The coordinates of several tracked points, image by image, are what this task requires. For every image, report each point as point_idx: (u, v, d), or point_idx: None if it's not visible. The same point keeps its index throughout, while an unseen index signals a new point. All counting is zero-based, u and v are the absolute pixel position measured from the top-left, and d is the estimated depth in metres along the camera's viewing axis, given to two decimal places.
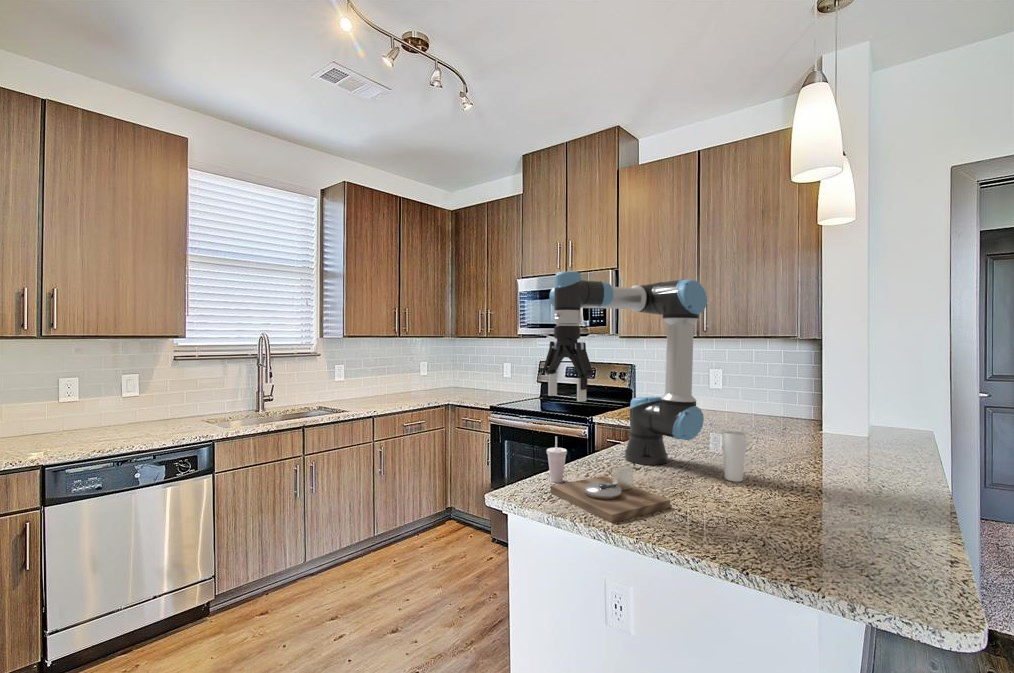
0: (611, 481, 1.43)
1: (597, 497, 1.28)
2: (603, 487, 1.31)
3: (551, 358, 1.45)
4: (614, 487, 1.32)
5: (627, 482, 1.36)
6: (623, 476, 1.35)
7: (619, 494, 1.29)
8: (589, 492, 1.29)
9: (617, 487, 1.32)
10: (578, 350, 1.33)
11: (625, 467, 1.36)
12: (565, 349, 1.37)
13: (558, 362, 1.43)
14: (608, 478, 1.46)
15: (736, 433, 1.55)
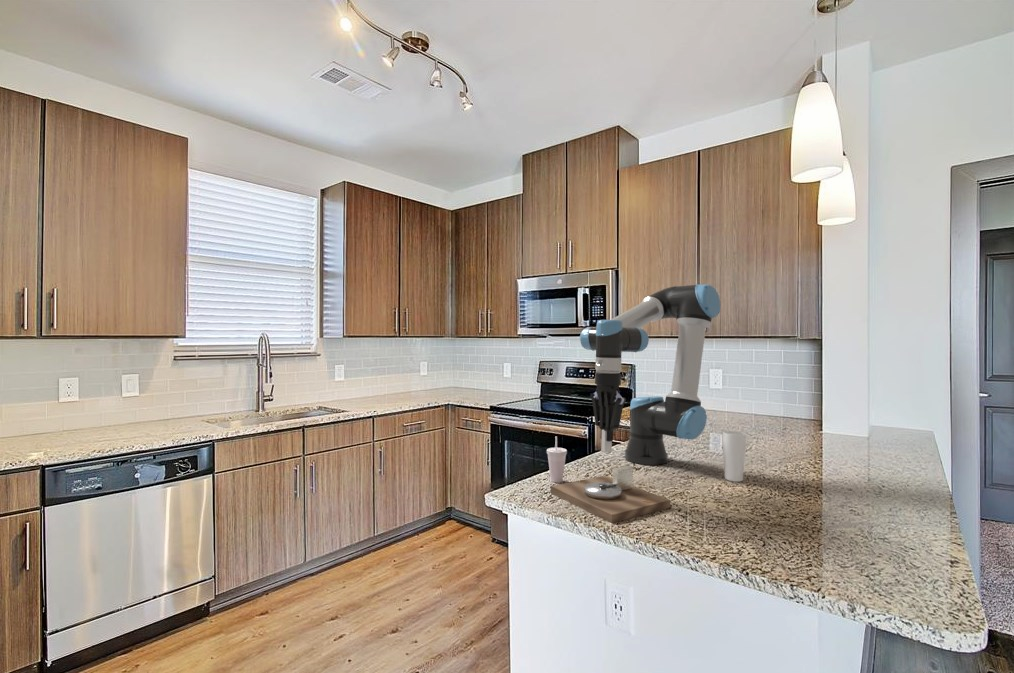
0: (611, 481, 1.43)
1: (597, 497, 1.28)
2: (603, 487, 1.31)
3: (598, 409, 1.45)
4: (614, 487, 1.32)
5: (627, 482, 1.36)
6: (623, 476, 1.35)
7: (619, 494, 1.29)
8: (589, 492, 1.29)
9: (617, 487, 1.32)
10: (616, 405, 1.37)
11: (625, 467, 1.36)
12: (605, 396, 1.40)
13: (606, 411, 1.43)
14: (608, 478, 1.46)
15: (736, 433, 1.55)
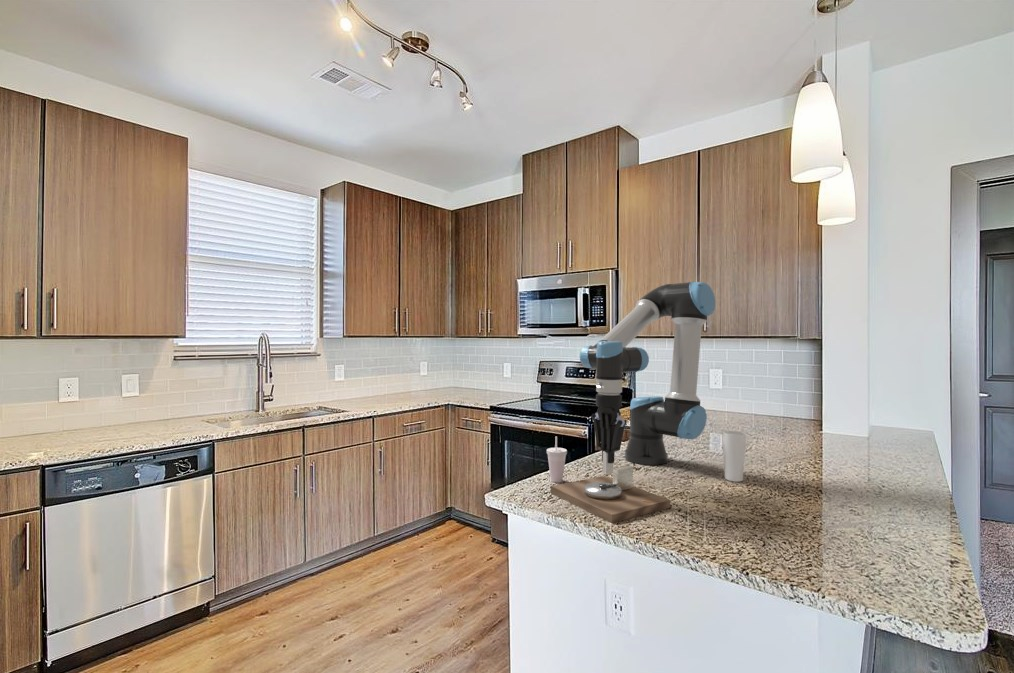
0: (611, 481, 1.43)
1: (597, 497, 1.28)
2: (603, 487, 1.31)
3: (599, 430, 1.44)
4: (614, 487, 1.32)
5: (627, 482, 1.36)
6: (623, 476, 1.35)
7: (619, 494, 1.29)
8: (589, 492, 1.29)
9: (617, 487, 1.32)
10: (617, 427, 1.37)
11: (625, 467, 1.36)
12: (606, 418, 1.39)
13: (607, 433, 1.42)
14: (608, 478, 1.46)
15: (736, 433, 1.55)
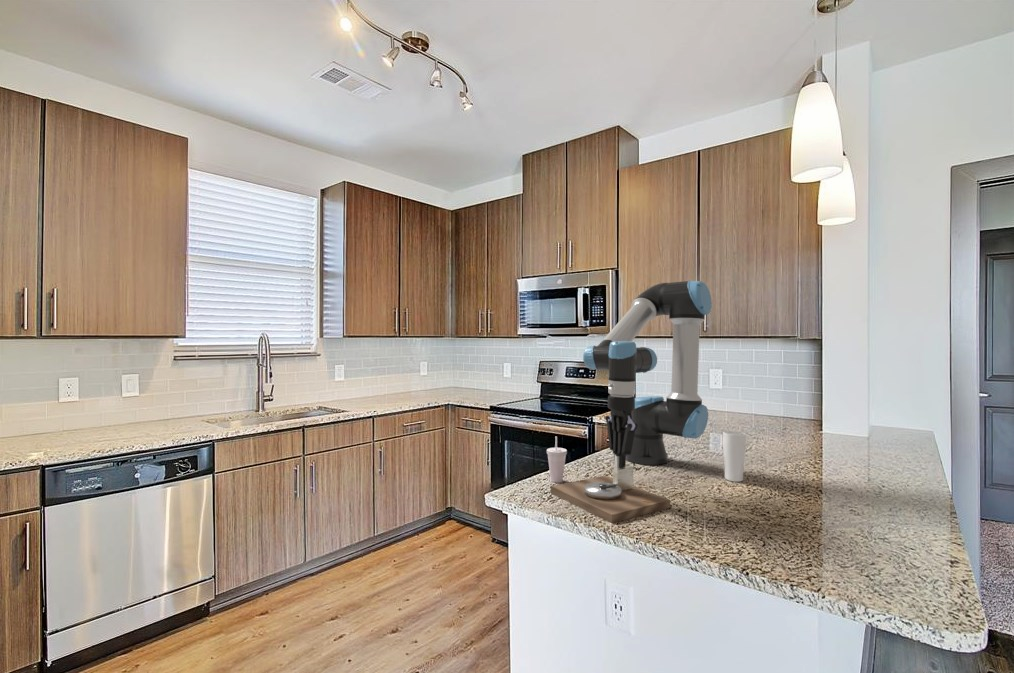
0: (611, 481, 1.43)
1: (597, 497, 1.28)
2: (603, 487, 1.31)
3: (613, 433, 1.40)
4: (614, 487, 1.32)
5: (627, 482, 1.35)
6: (623, 476, 1.35)
7: (619, 494, 1.29)
8: (589, 492, 1.29)
9: (617, 487, 1.32)
10: (627, 430, 1.32)
11: (625, 467, 1.36)
12: (617, 421, 1.35)
13: None
14: (608, 478, 1.46)
15: (736, 433, 1.55)
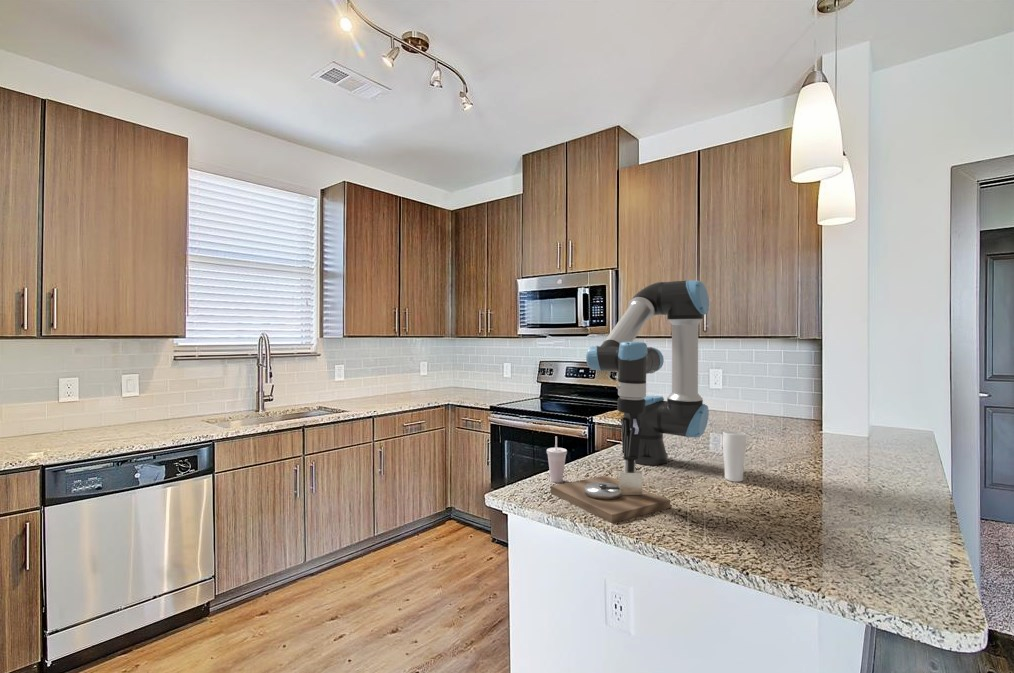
0: (611, 481, 1.43)
1: (588, 494, 1.30)
2: (601, 487, 1.31)
3: None
4: (614, 489, 1.31)
5: (633, 487, 1.31)
6: (628, 480, 1.31)
7: (612, 496, 1.27)
8: (584, 489, 1.32)
9: (617, 490, 1.30)
10: (631, 434, 1.28)
11: (633, 472, 1.32)
12: (625, 424, 1.31)
13: None
14: (608, 478, 1.46)
15: (736, 433, 1.55)
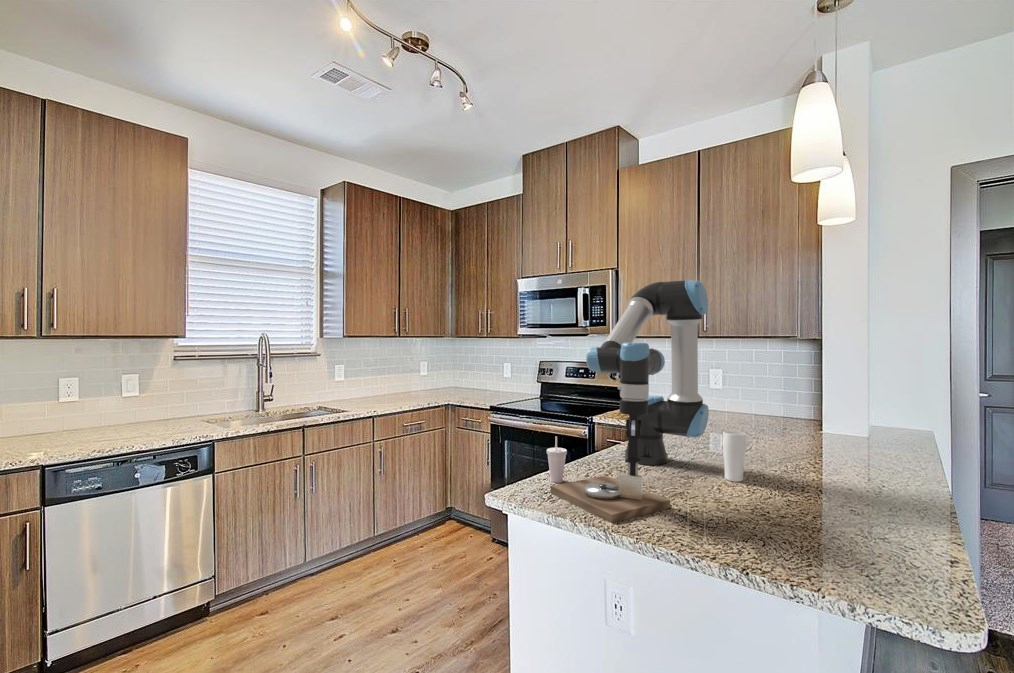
0: (611, 481, 1.43)
1: (585, 492, 1.31)
2: (600, 486, 1.31)
3: None
4: (612, 490, 1.30)
5: (632, 491, 1.28)
6: (627, 483, 1.28)
7: (605, 496, 1.27)
8: None
9: (615, 491, 1.29)
10: (628, 435, 1.26)
11: (633, 475, 1.28)
12: (626, 425, 1.30)
13: None
14: (608, 478, 1.46)
15: (736, 433, 1.55)
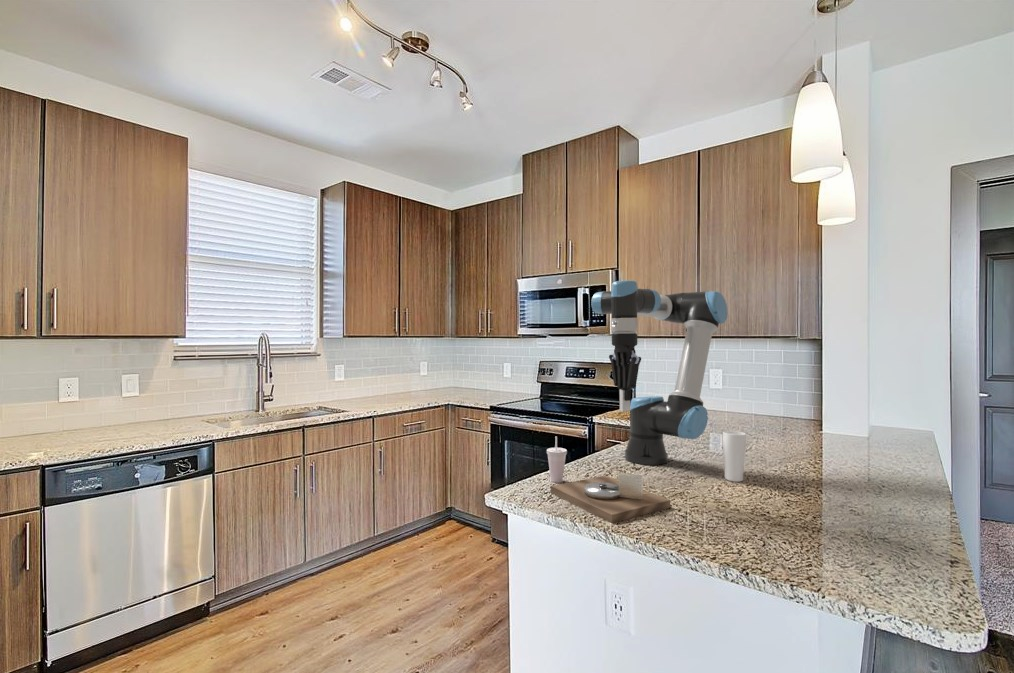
0: (611, 481, 1.43)
1: (585, 492, 1.31)
2: (600, 486, 1.31)
3: (617, 370, 1.47)
4: (612, 490, 1.30)
5: (633, 491, 1.28)
6: (627, 483, 1.28)
7: (605, 496, 1.27)
8: None
9: (615, 491, 1.29)
10: (631, 364, 1.39)
11: (634, 475, 1.29)
12: (621, 356, 1.42)
13: None
14: (608, 478, 1.46)
15: (736, 433, 1.55)
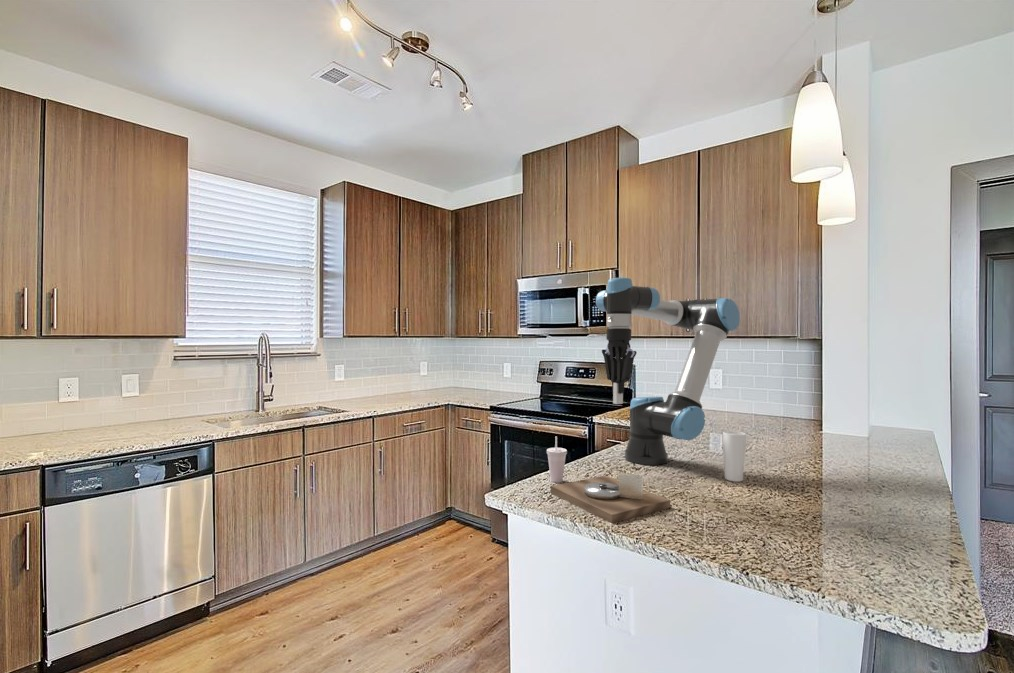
0: (611, 481, 1.43)
1: (585, 492, 1.31)
2: (600, 486, 1.31)
3: (610, 364, 1.52)
4: (612, 490, 1.30)
5: (633, 491, 1.28)
6: (627, 483, 1.28)
7: (605, 496, 1.27)
8: None
9: (615, 491, 1.29)
10: (627, 357, 1.45)
11: (634, 475, 1.29)
12: (617, 351, 1.47)
13: (617, 365, 1.50)
14: (608, 478, 1.46)
15: (736, 433, 1.55)
